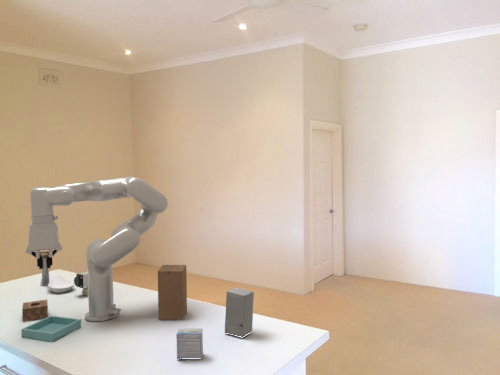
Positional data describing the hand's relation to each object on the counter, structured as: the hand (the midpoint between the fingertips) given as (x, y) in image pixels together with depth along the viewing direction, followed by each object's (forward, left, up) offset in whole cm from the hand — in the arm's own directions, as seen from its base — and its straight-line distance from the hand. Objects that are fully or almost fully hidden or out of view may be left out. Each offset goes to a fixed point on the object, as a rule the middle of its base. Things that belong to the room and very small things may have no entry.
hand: (45, 267), depth 156 cm
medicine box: (-64, +7, -23) cm, 68 cm away
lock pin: (0, 0, -6) cm, 6 cm away
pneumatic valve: (+12, -37, -23) cm, 46 cm away
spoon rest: (+34, -40, -23) cm, 58 cm away
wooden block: (-41, -24, -23) cm, 53 cm away
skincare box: (-73, -15, -23) cm, 78 cm away
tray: (-6, +4, -23) cm, 24 cm away
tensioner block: (+13, -7, -23) cm, 27 cm away
